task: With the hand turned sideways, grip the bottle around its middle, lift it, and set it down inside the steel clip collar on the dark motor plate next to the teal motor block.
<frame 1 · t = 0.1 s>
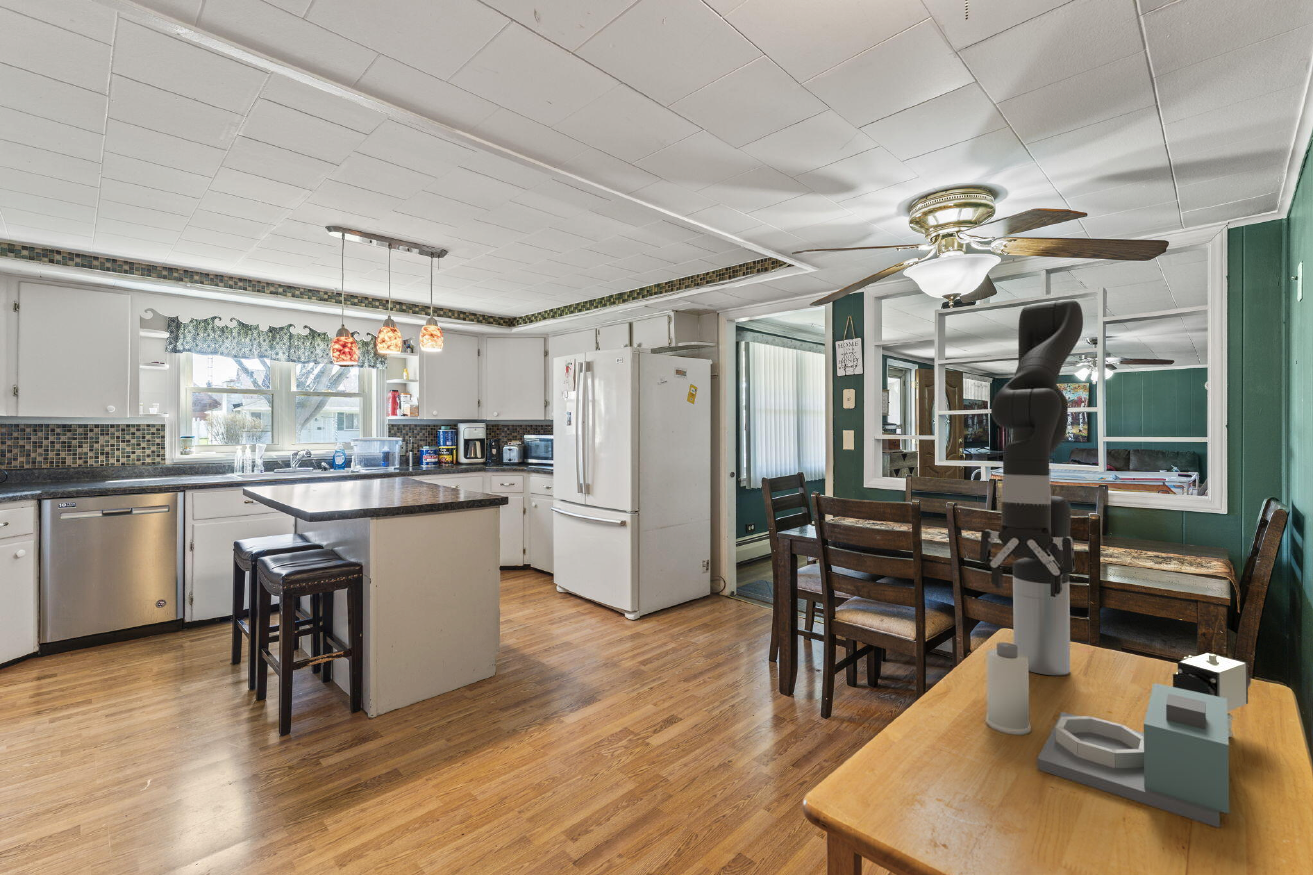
hand: (1025, 592, 106), 17 cm above the table, tool pointing down, fingers open, 8 cm apart
bottle: (1007, 725, 93), on the table
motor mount: (1101, 758, 83), on the table
pneumatic valve: (1209, 734, 90), on the table
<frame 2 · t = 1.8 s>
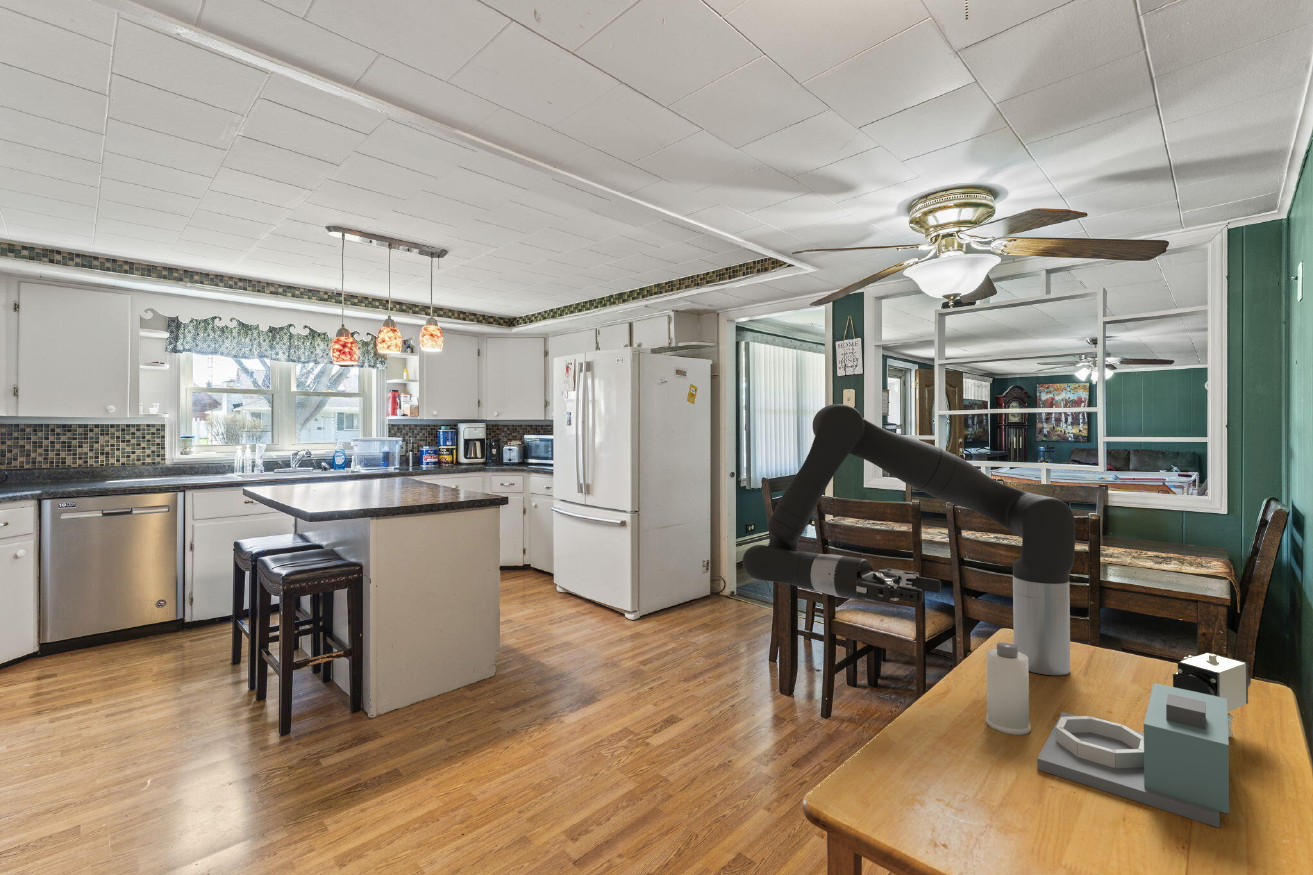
hand: (931, 591, 100), 19 cm above the table, tool horizontal, fingers open, 8 cm apart
nothing on the table moved.
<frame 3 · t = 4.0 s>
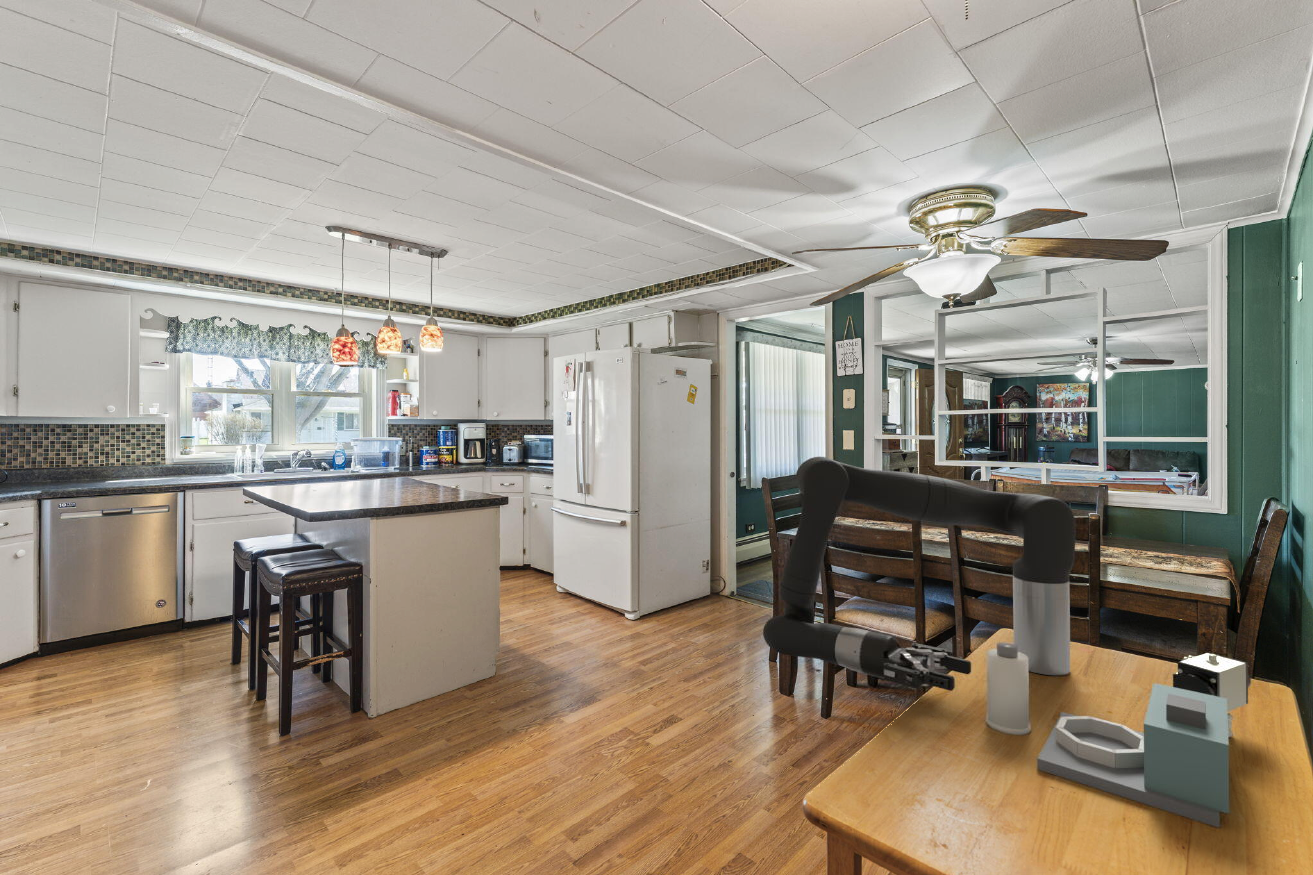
hand: (962, 675, 97), 6 cm above the table, tool horizontal, fingers open, 8 cm apart
nothing on the table moved.
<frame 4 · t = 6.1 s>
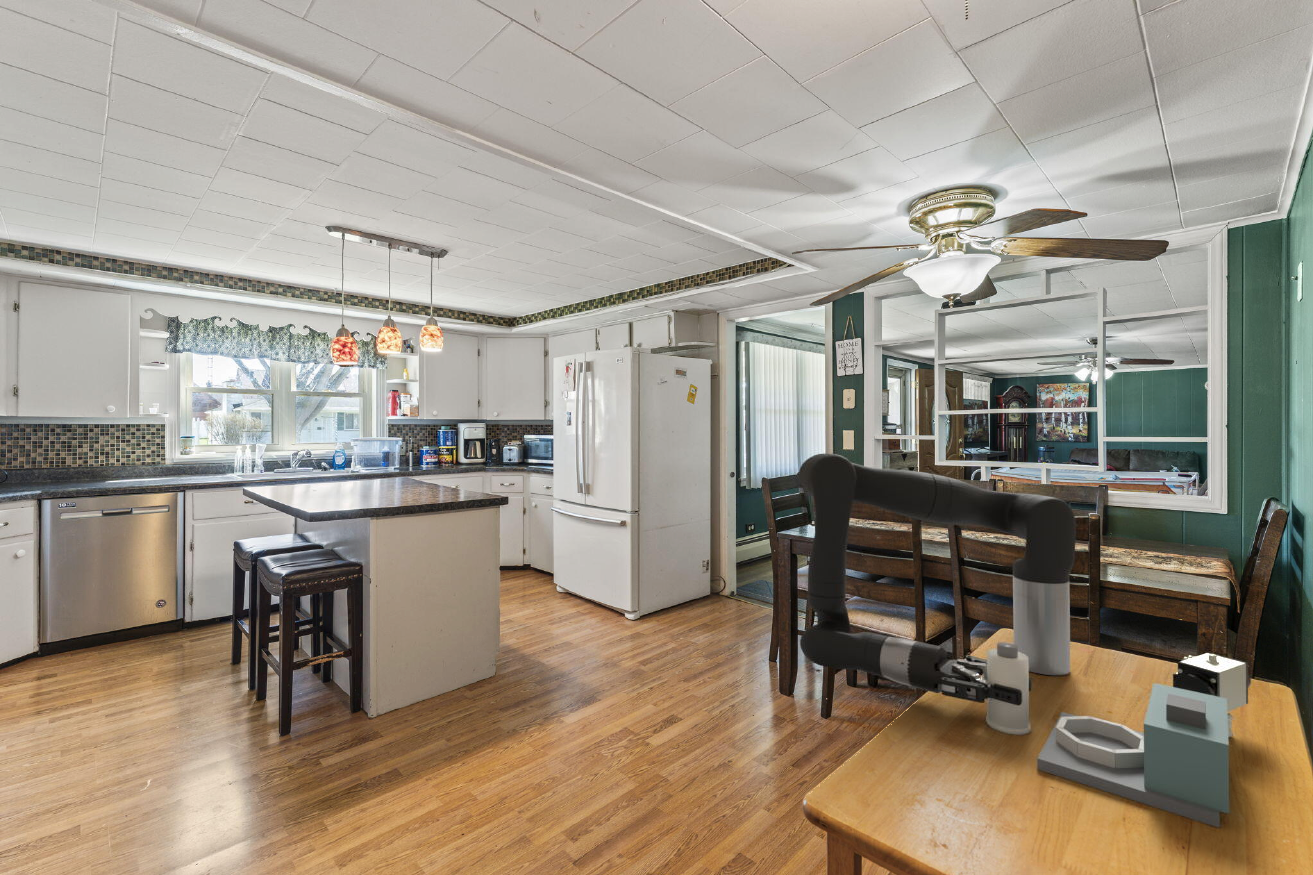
hand: (1026, 691, 91), 6 cm above the table, tool horizontal, fingers closed on bottle, 5 cm apart
bottle: (1008, 725, 93), on the table, touching gripper
everything else where it was.
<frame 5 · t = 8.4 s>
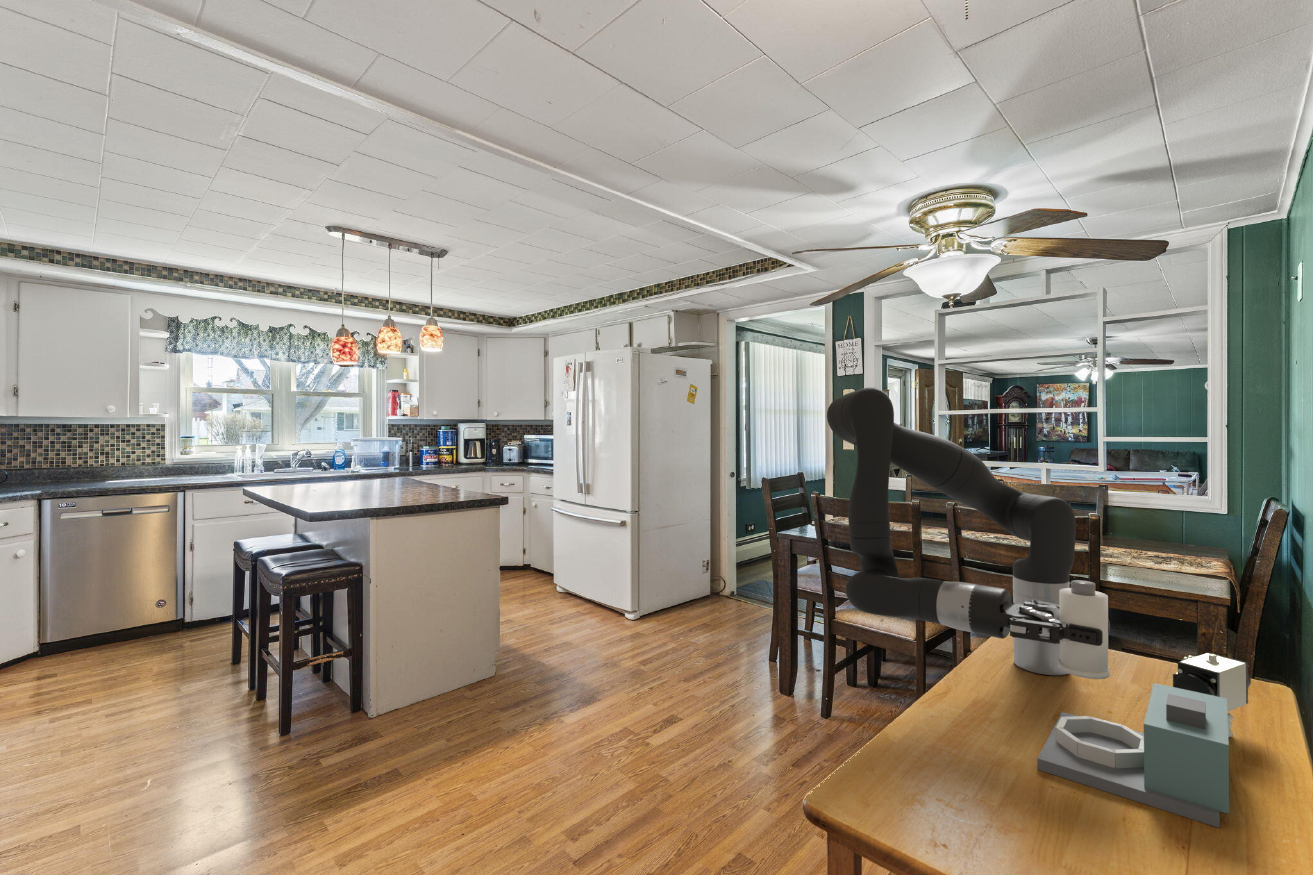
hand: (1105, 632, 83), 18 cm above the table, tool horizontal, fingers closed on bottle, 5 cm apart
bottle: (1083, 670, 85), point 12 cm above the table, touching gripper
everything else where it was.
when the fingers open (9 cm above the table, at t = 10.8 s): bottle drops 1 cm, resting on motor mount.
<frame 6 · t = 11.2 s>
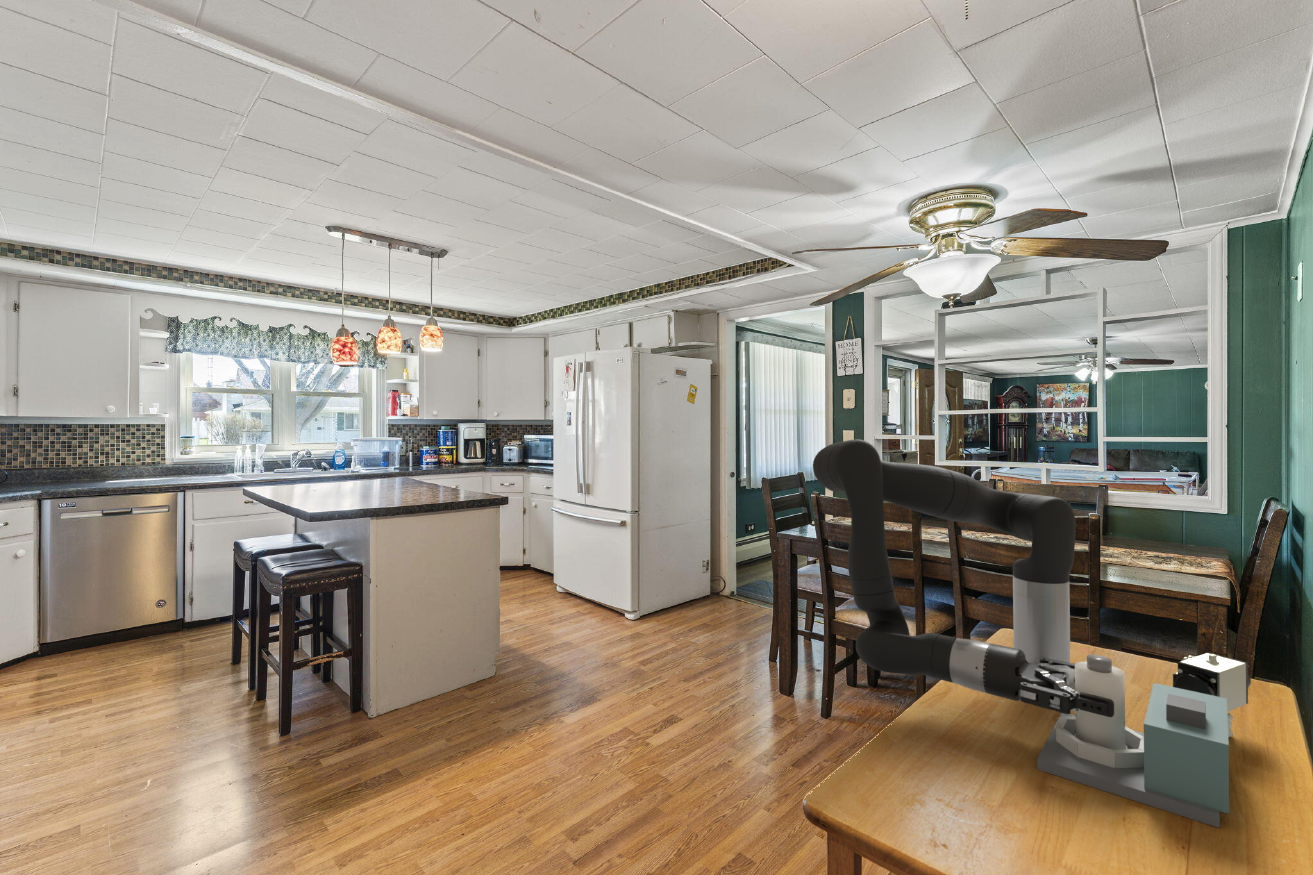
hand: (1117, 698, 82), 9 cm above the table, tool horizontal, fingers open, 8 cm apart
bottle: (1100, 747, 83), point 2 cm above the table, touching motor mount
everything else where it was.
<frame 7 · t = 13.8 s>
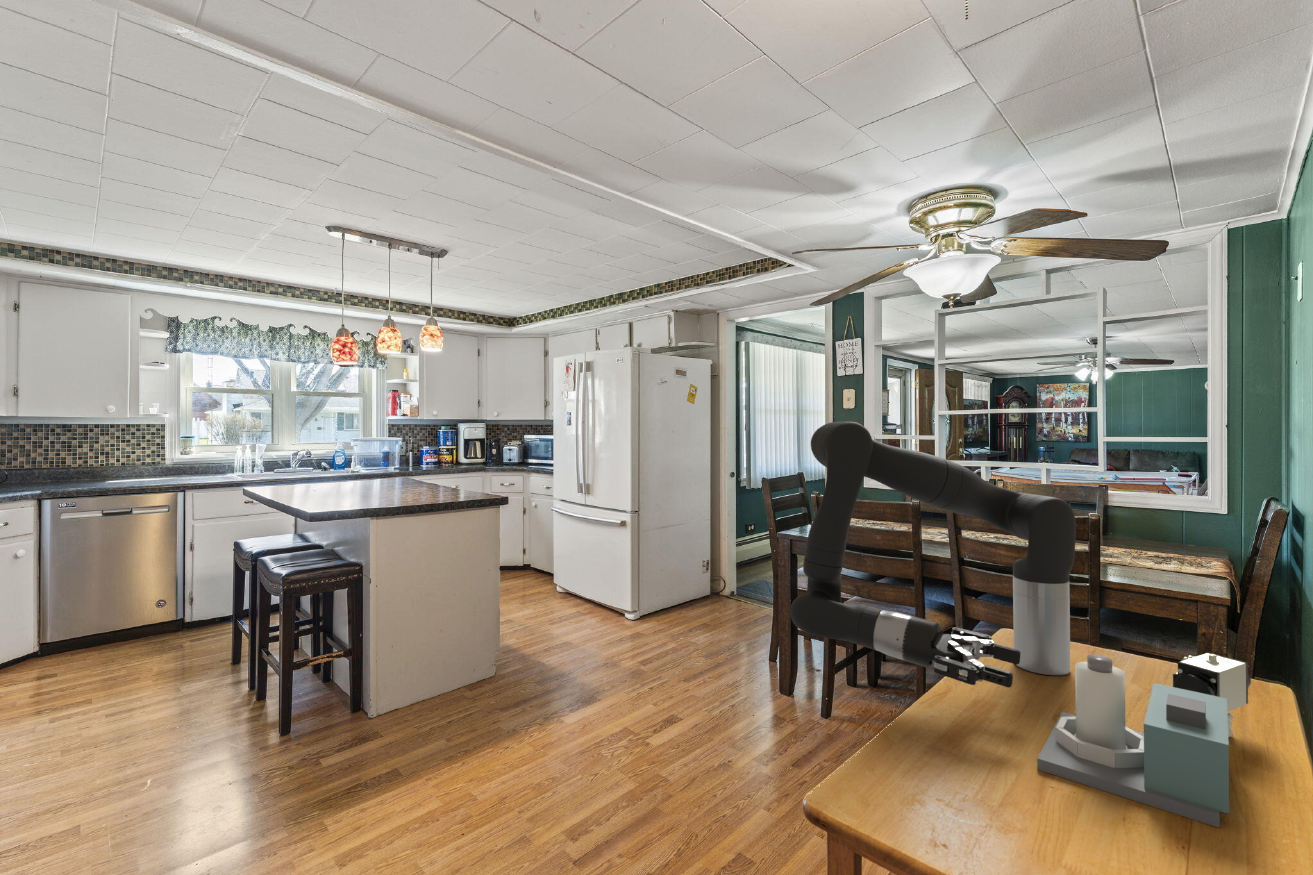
hand: (1016, 668, 92), 9 cm above the table, tool horizontal, fingers open, 8 cm apart
nothing on the table moved.
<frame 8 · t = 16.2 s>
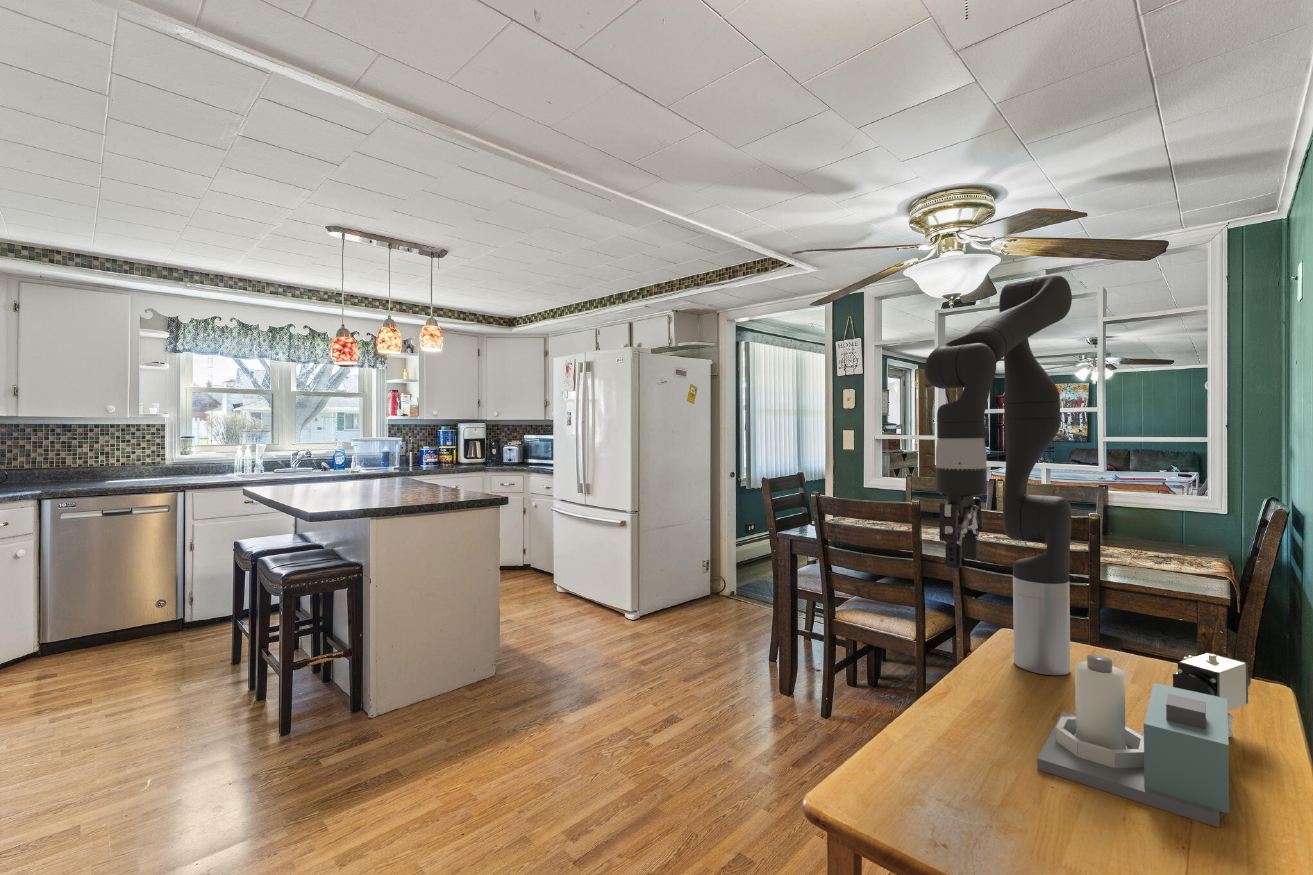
hand: (961, 562, 99), 24 cm above the table, tool pointing down, fingers open, 8 cm apart
nothing on the table moved.
at the end: bottle 0.1 cm off-centre on the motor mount, point 1.5 cm above the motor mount's base; bottle tilted 0°; the gripper is holding nothing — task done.
